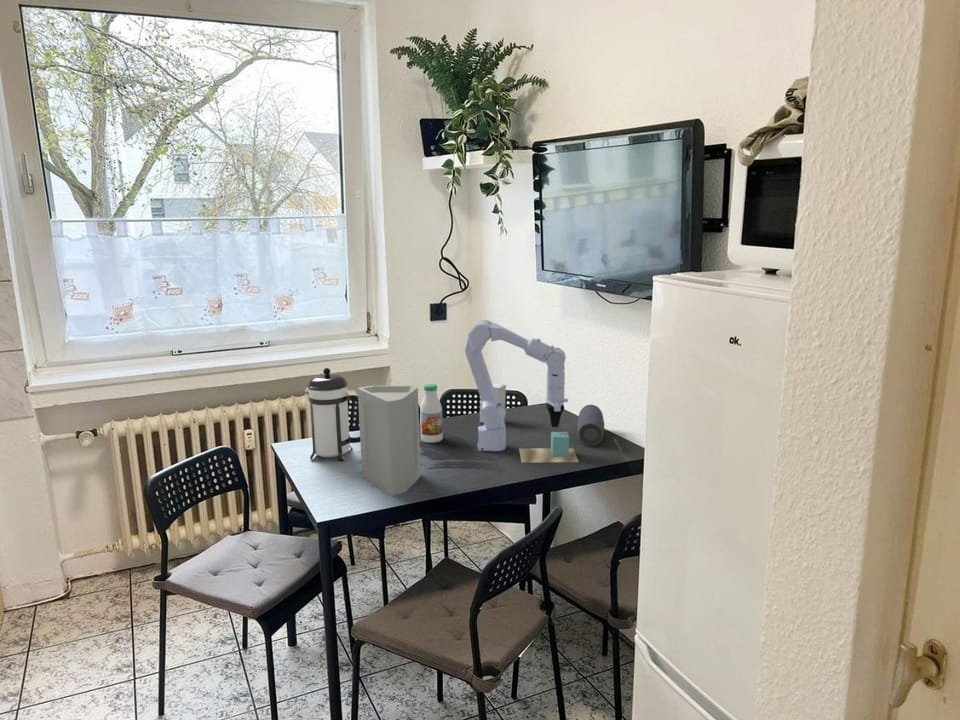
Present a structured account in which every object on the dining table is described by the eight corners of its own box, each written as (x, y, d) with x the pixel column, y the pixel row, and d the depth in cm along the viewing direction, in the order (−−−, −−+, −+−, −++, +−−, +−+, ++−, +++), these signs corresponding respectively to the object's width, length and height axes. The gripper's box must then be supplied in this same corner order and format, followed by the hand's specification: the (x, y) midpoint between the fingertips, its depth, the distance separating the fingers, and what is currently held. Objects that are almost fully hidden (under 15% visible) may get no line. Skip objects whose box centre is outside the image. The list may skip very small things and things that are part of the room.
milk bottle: (416, 439, 249) (414, 385, 245) (433, 434, 254) (432, 381, 250) (429, 444, 243) (428, 389, 239) (447, 439, 248) (446, 385, 244)
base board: (521, 467, 222) (521, 462, 221) (519, 452, 234) (519, 448, 234) (578, 466, 222) (578, 461, 221) (572, 452, 234) (573, 448, 234)
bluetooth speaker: (604, 450, 236) (605, 422, 234) (576, 449, 237) (577, 421, 235) (603, 429, 258) (604, 403, 256) (577, 428, 259) (578, 402, 257)
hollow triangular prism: (435, 483, 209) (433, 393, 203) (391, 496, 201) (387, 401, 195) (403, 465, 224) (400, 380, 218) (361, 476, 216) (356, 388, 210)
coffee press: (319, 468, 223) (314, 376, 216) (302, 454, 236) (296, 366, 229) (370, 457, 232) (365, 368, 226) (350, 444, 245) (346, 360, 239)
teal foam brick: (552, 456, 226) (552, 437, 225) (551, 451, 231) (551, 432, 230) (568, 456, 226) (569, 437, 225) (566, 451, 231) (567, 431, 230)
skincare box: (479, 422, 267) (479, 384, 264) (486, 418, 273) (486, 381, 269) (499, 425, 264) (499, 387, 260) (506, 421, 269) (506, 383, 266)
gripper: (570, 392, 220) (569, 433, 223) (565, 380, 234) (564, 419, 237) (548, 392, 220) (547, 433, 223) (544, 380, 234) (543, 419, 237)
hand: (554, 426), depth 230 cm, fingers closed
